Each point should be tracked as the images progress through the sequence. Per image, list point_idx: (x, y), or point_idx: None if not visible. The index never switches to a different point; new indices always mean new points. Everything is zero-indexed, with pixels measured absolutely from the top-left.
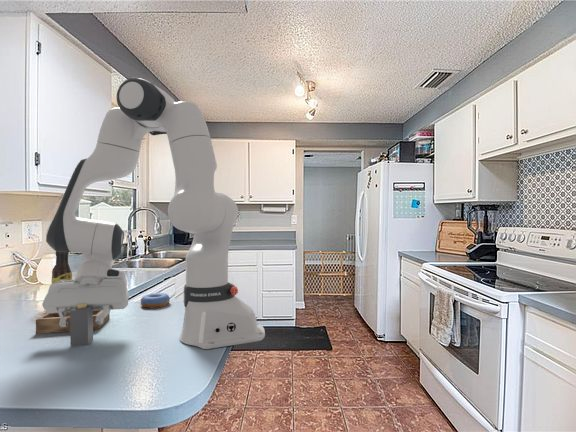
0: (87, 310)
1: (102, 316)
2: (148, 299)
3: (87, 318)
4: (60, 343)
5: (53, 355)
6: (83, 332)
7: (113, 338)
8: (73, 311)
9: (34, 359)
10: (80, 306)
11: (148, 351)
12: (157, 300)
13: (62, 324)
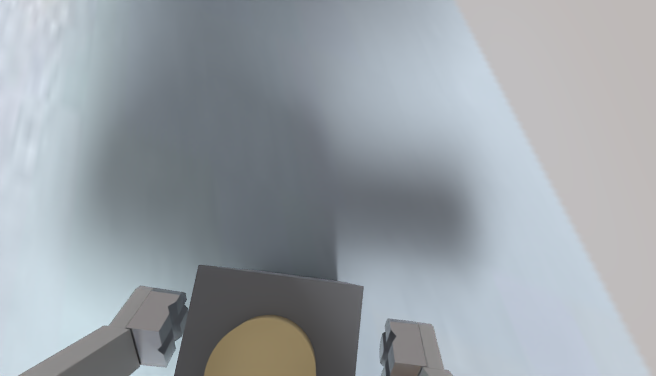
0: (203, 265)
1: (116, 323)
2: None
3: (225, 267)
4: None
5: (381, 183)
6: (270, 272)
7: None
8: (331, 282)
9: (441, 164)
10: (269, 320)
11: (5, 87)
12: None
13: (407, 322)
